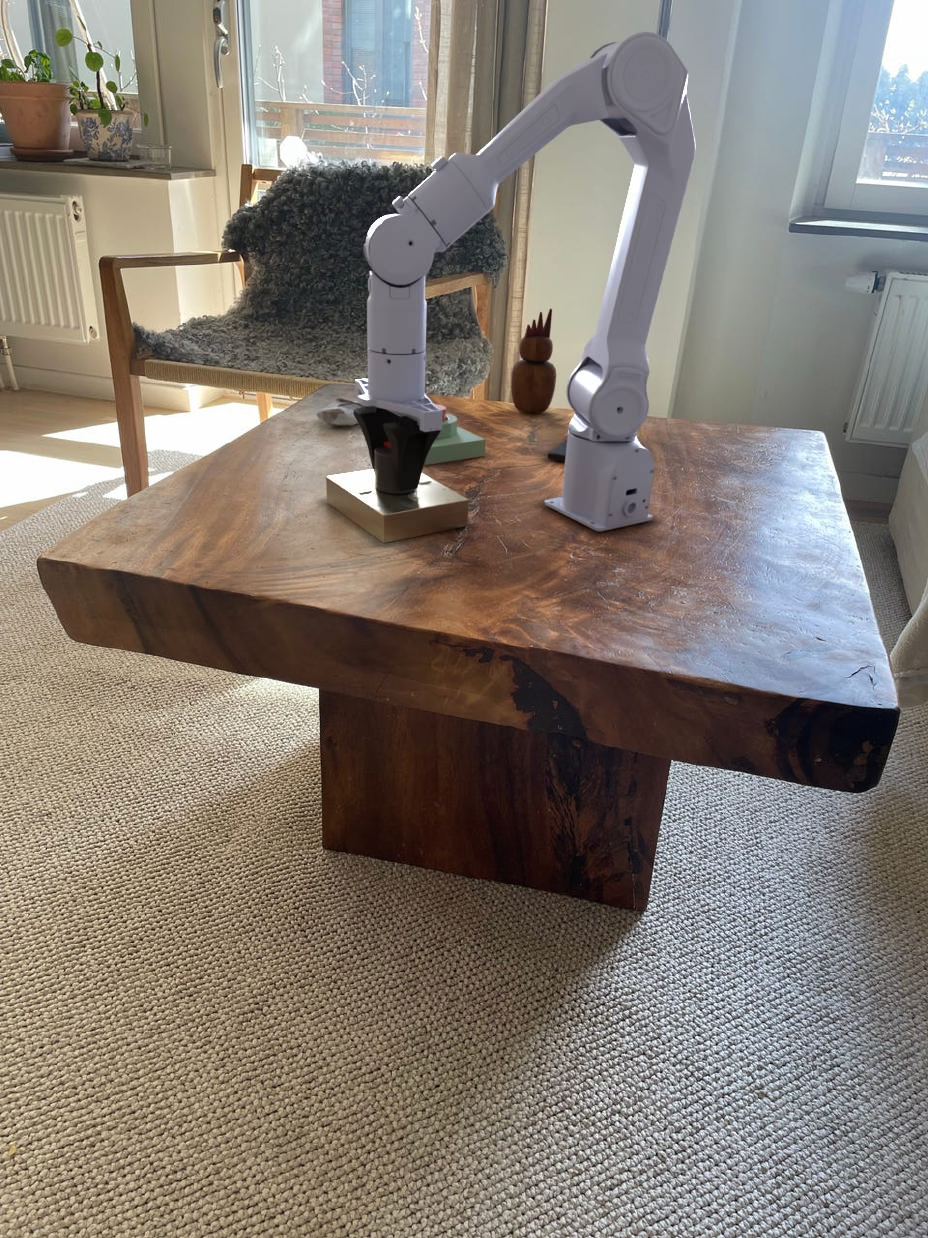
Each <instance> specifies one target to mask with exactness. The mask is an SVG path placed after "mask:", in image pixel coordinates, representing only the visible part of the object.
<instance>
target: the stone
mask: <svg viewBox="0 0 928 1238" xmlns="http://www.w3.org/2000/svg"><path fill="white" fill-rule="evenodd" d="M363 407H365V406H363V405H361V404H359V403H358V400H357V401H356V400H349V399H346V398H341V397H337V398H336V399H335V400H334V401H333V402H331V403H329V404H328V405H327V406H326V407H324V408H323V407H322V408H319V409H318V410H317V411H316V416H317V418H318V419H319V420H321V421H323V422H324V423H325V425H326V426H328V427H335V426H349V427H353V426H354V425H356V424H359V423H358V422H357V420H356V418H355V416H354V414H353V410H354V409H356V408H363Z"/></svg>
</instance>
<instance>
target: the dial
mask: <svg viewBox="0 0 928 1238" xmlns="http://www.w3.org/2000/svg"><path fill="white" fill-rule="evenodd" d="M375 488H376V489H377V490H379V491H381V492H385V493H391V494H402V493H408V492H412V491H414V490H415V489H412V490H406V491H399V490H398V489H397V486H396V481H395V473H394V461H393V455H392V450H391V446H390V443H389V442H384V445H382V446H379V447H377V448H375Z"/></svg>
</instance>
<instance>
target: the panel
mask: <svg viewBox="0 0 928 1238" xmlns="http://www.w3.org/2000/svg"><path fill="white" fill-rule="evenodd" d="M325 490H326V503H327V504H329V506H331V507H333V508H334V509H336V511H338V512H340V513H341V514H343V515H344V516H345V517H346V518H348V519H349V520H350V521H352V522H354V523H355V524H356V525H358V526H359V527H360V528H362V529H363V530H365V532H367V533H369V534H370V535H372V536H373V537H374V538H376V539H377V540H378V541H380V542H382V543H383V544H386V543H391V542H396V541H400V540H407V539H411V538H416V537H422V536H426V535H431V534H435V533H436V534H437V533H441V532H445V531H450V530H455V529H461V528H466V527H468V522H469V502H470V499H468V498H467V497H465V496H464V495H462V494H460V493H458V492H456V491H455V490H453V489H451V488H449V487H447V486H446V485H444V484H442V483H441V482H439V481H437V480H435V479H434V478H432V477H430V476H428V475H426V474H425V473H423V472H422V474H421V477H420V481H419V484H418V488H417V489H415V490H414V491H412V492H408V493H402V494H391V493H385V492H381V491H379V490H377V489H376V488H375V474H374V471H373V468H371V469H365V470H359V471H351V472H345V473H339V474H332V475H326V476H325Z"/></svg>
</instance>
